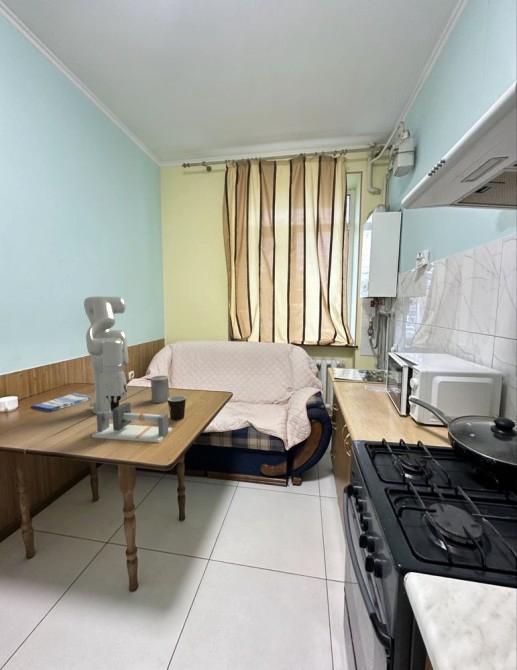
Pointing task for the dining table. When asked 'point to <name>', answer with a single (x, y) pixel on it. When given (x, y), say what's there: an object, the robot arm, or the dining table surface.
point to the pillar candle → (160, 389)
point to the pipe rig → (133, 427)
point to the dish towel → (61, 402)
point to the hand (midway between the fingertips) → (115, 410)
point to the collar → (120, 416)
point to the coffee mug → (177, 407)
